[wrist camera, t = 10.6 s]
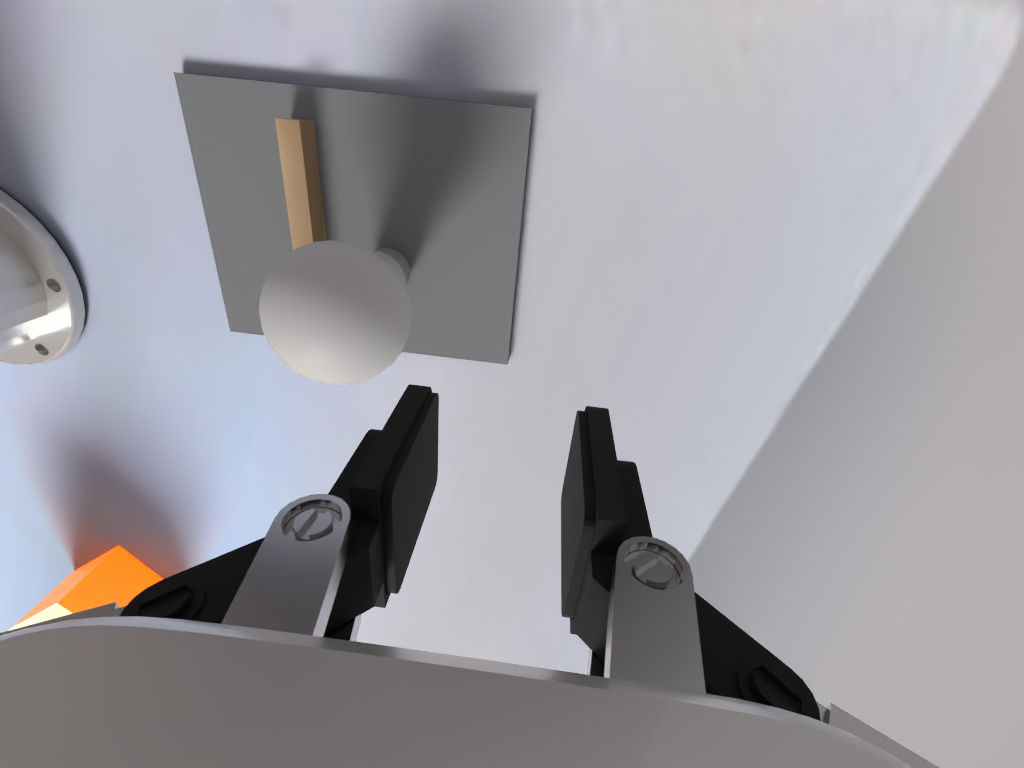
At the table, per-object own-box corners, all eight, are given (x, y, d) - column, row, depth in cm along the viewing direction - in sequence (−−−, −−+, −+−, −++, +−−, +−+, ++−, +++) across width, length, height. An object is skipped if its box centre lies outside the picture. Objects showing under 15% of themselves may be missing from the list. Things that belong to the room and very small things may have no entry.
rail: (323, 345, 31) (307, 359, 29) (296, 118, 25) (275, 117, 23) (341, 347, 31) (326, 361, 29) (319, 120, 25) (299, 120, 23)
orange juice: (118, 543, 43) (-187, 833, 25) (195, 601, 46) (-30, 894, 28) (72, 570, 45) (-234, 850, 28) (148, 623, 48) (-85, 904, 31)
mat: (236, 327, 31) (230, 331, 30) (182, 73, 24) (173, 72, 24) (508, 360, 30) (507, 364, 30) (532, 108, 23) (531, 108, 23)
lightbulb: (413, 192, 25) (330, 233, 16) (462, 295, 28) (416, 384, 18) (320, 236, 27) (191, 298, 17) (374, 329, 29) (289, 429, 20)
